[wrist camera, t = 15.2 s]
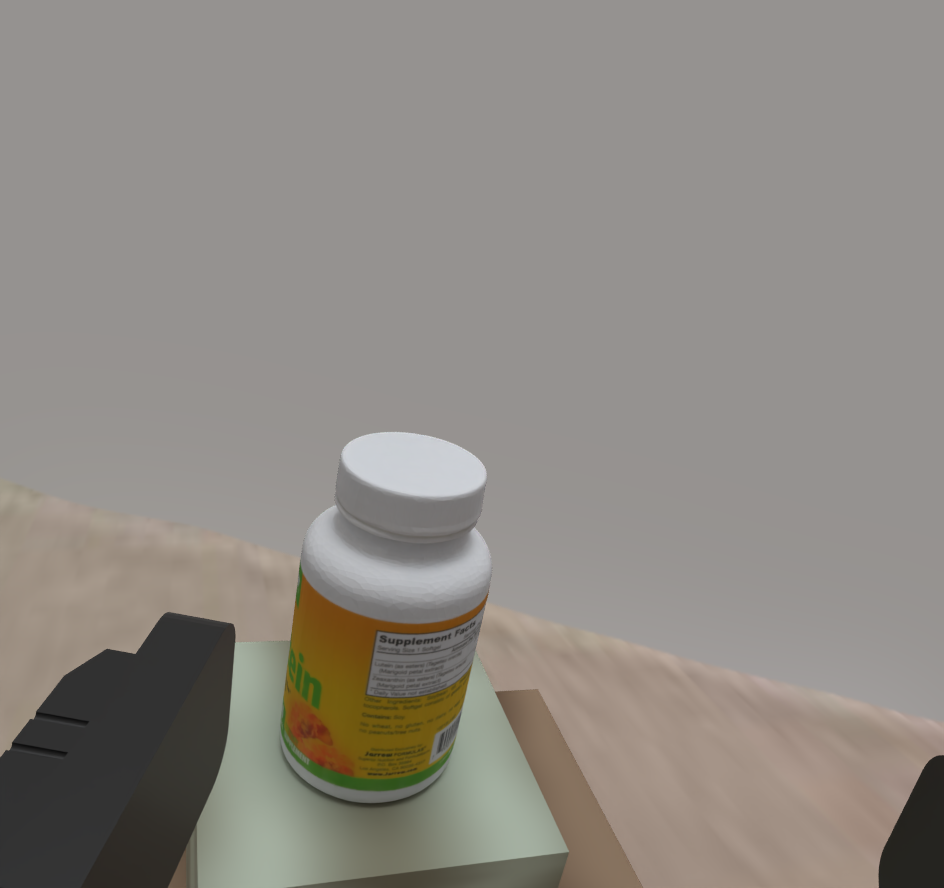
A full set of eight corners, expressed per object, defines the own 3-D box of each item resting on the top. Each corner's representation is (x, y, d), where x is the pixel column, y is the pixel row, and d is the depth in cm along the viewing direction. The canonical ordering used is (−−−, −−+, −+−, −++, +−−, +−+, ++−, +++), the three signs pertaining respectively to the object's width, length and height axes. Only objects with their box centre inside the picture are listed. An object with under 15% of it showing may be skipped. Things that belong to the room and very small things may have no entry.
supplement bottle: (264, 692, 28) (295, 418, 24) (420, 677, 30) (471, 422, 26) (295, 824, 24) (339, 511, 20) (476, 794, 26) (546, 508, 22)
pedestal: (532, 710, 39) (562, 595, 37) (703, 1048, 26) (766, 906, 24) (43, 741, 32) (42, 603, 30) (-48, 1216, 20) (-64, 1041, 17)
